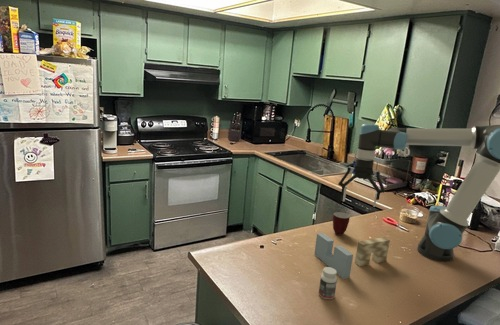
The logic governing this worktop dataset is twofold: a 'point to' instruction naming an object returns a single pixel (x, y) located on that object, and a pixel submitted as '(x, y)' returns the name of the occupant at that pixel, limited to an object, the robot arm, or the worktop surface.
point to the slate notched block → (333, 255)
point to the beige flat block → (372, 251)
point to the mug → (340, 222)
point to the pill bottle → (328, 283)
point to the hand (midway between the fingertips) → (358, 203)
